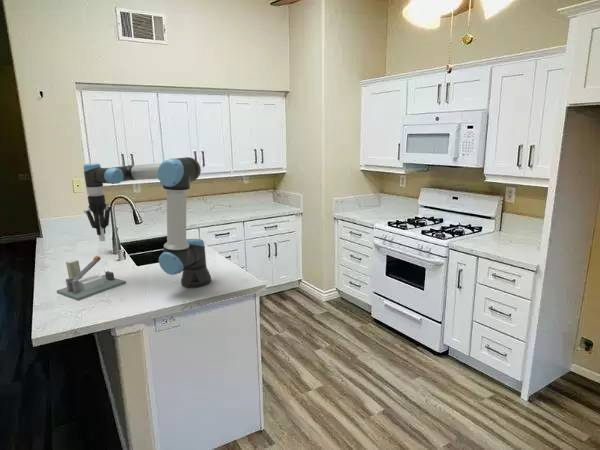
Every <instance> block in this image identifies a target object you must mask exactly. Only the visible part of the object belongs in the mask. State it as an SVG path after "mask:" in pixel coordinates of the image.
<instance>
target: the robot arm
mask: <svg viewBox="0 0 600 450" xmlns="http://www.w3.org/2000/svg"><path fill="white" fill-rule="evenodd" d="M201 171H202V169H201V165H200V163H199V162H198V160H196V159H195V158H193V157H186V156H185V157H177V158H175V157H174V158H169V159H165V160H164V161H162V162H160V163H148V164H147V163H146V164H145V163H144V164H129V165H122V166H121V165H120V166H115V167H113V166H112V167H102V166H101V163H97V162H96V163H85V164H84V165H83V176H84V182H85V187H86V195H87V203H88V207H87V209H86V210H84V214H85V215H86V217H87V219H88V221H89V224H90V226H91V228H92V229H95V230H96V235H97V236H98V238H99V241H100V242H105V241H106V237H105V234H106V233H107V232H106V228H107V227H109V222H110V216H111V215H110V212H111V210H112V207H111V206H108V205H107V203H106V198H105V196H106V195H104V194H105V190H104V184H111V185H115V184H120V183H123V182H128V181H139V180H140V181H141V180H142V181H143V180H159V181H160V183H161V185H162V188H163V191H165V192H166V240H167V241H166V242H165V243H164V244H163V252H162V253H161V254H160V255H159V257H158V265H159V267H160V268H161V270H163V272H165V273H166V274H168V275H171V276H175V275H178V274H180V273H182V275H181V279H180V285H181V286H182V287H184V288H191V289H192V288H193V289H194V288H200V287H204V286H206V285H209V284H210V283H211V282H212V277H211V274H210V272H209V270H208V267H207V259H206V249H205V248H206V246H205V241H204V240H203V239H200V238H187V192H188V191H190V189H191V183H192V182H195V181H197V179H198V178H199V177H200V175H201Z"/></svg>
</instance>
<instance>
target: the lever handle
mask: <svg viewBox="0 0 600 450" xmlns="http://www.w3.org/2000/svg"><path fill="white" fill-rule="evenodd" d="M101 259H102V258H101V257H100V256H99V255H95V256H93V260H92V261H91V262H89V263H88V264H87V265H86V266H85V267H84V268H83V269H82V270H80V271H81V272H80V273H79V274H78V275H77V276H76V277H75V278H73V279H72V281H73V280H79V279H80V278H84V276H85V275H86V274H87V273H88V272H89V271H90V270H91V269H92V268H93V267H94V266H96V264H97V263H99V261H101Z"/></svg>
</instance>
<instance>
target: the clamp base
mask: <svg viewBox="0 0 600 450" xmlns="http://www.w3.org/2000/svg"><path fill="white" fill-rule="evenodd" d="M114 275H115V274H114V272H112V271H108V270H107V271H105V272H104V274H103V275H96V274H91V275H87V276H85V277H84V276H83V277H82V278H81V279H79V280H73V281H72V278H69V277H68V278H65V281H66V282H65V283H66V287H63V288H60V289H58V290H56V293H57V294H59V295H62V296H65V297H68V298H70V299H73V300H76V301H81V300H84V299H87V298H89V297H90V298H91V297H92V296H94V295H98V294H100V293H103V292H106V291H108V290H111V289H114V288H117V287H120V286H122V285H125V284H126V283H127V281H126V280H123V279H120V278H116V277H115V276H114Z"/></svg>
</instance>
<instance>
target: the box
mask: <svg viewBox="0 0 600 450" xmlns="http://www.w3.org/2000/svg"><path fill="white" fill-rule="evenodd" d="M65 264H66V265H65V266H66V269H67V274H68V278H72V279H73V278H75V277H76V276H77V275H78V274H79V273H80V272H81V271H82V270H81V267H80V262H79V259H71V260H67V261H65ZM80 279H81V278H80Z"/></svg>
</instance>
